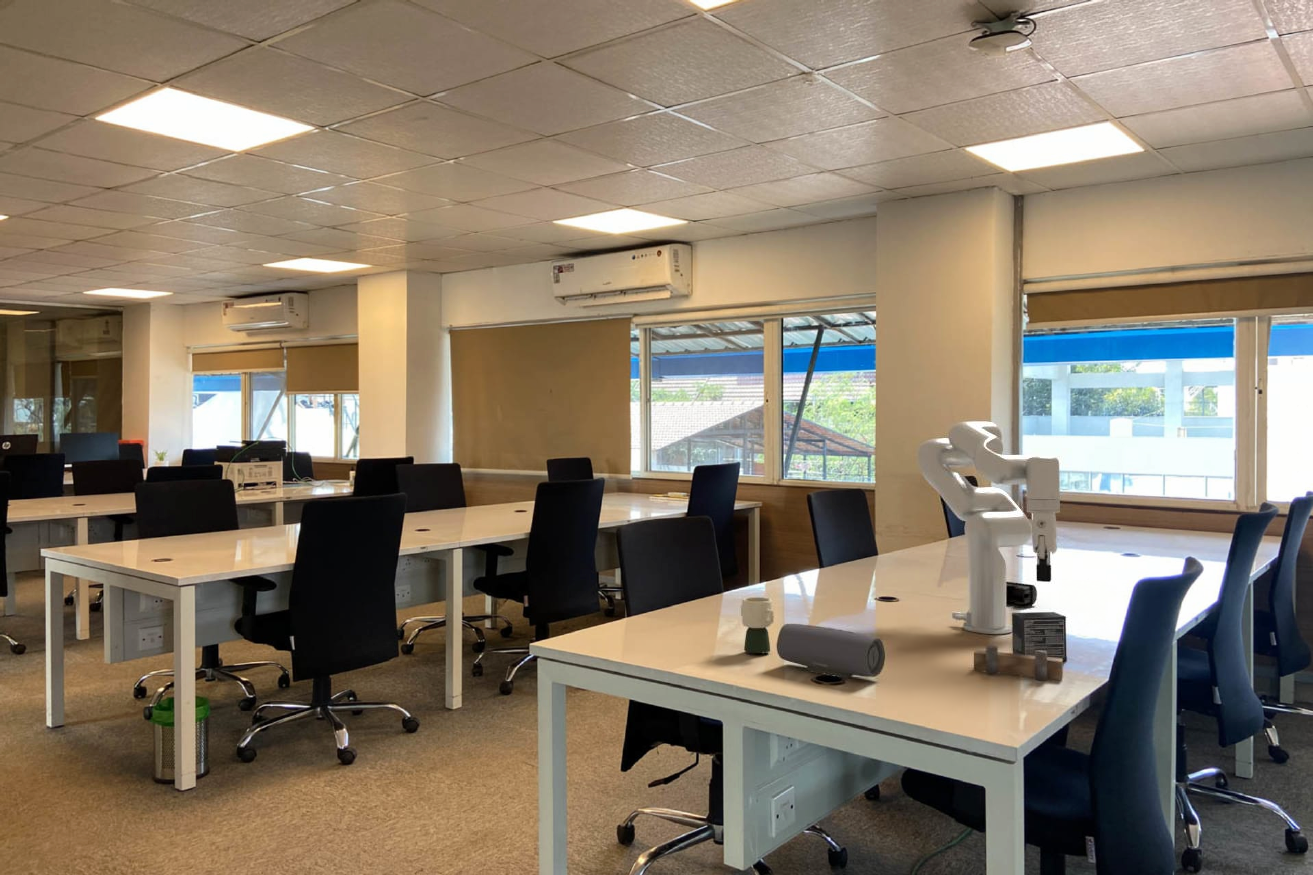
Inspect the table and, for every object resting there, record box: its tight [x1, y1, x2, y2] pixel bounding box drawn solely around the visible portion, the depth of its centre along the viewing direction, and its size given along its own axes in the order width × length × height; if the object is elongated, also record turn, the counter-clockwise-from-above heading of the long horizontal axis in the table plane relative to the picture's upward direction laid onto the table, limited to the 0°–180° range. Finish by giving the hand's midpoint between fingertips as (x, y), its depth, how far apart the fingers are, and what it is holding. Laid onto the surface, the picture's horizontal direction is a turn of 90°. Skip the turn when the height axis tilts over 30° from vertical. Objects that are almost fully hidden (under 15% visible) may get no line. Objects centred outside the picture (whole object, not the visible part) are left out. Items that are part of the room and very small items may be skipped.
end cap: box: [1006, 581, 1038, 609], centre depth 279 cm, size 10×7×7 cm
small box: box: [1011, 611, 1068, 662], centre depth 213 cm, size 11×6×10 cm, turn 92°
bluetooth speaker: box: [776, 623, 886, 679], centre depth 201 cm, size 23×9×10 cm, turn 48°
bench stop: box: [973, 645, 1064, 682], centre depth 199 cm, size 18×5×6 cm, turn 63°
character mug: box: [740, 596, 775, 655], centre depth 219 cm, size 11×7×13 cm, turn 37°
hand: (1043, 580), depth 223 cm, fingers closed
